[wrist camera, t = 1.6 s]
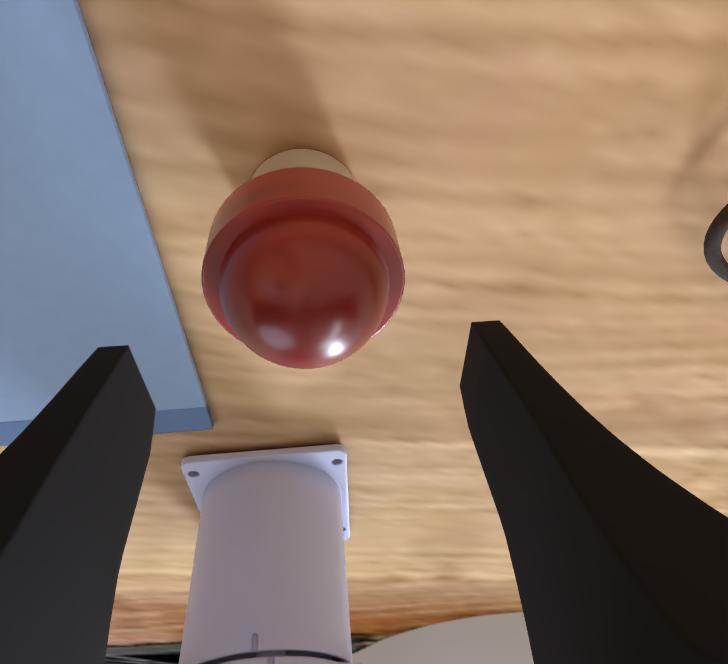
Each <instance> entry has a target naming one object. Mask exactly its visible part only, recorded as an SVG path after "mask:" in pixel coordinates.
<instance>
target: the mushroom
mask: <svg viewBox="0 0 728 664" xmlns="http://www.w3.org/2000/svg"><path fill="white" fill-rule="evenodd" d="M404 284H405V270H404V265H403V260H402V256H401V252H400V248H399V244H398V241H397V237H396V233H395V229H394V226H393V224H392V221H391V219H390V217H389V215H388V213H387V211H386V209H385V208H384V207H383V205H382V204H381V203H380V201H379V200H378V199H377V198H376V197H375V196H374V195H373V194H372V193H371V192H370V191H368V190H367V189H366V188H365V187H363V186H362V185H361V184H359V183H357V182H355V180H354V178H353V177H352V175H351V173H350V172H349V171H348V169H347V168H346V167H345V166H344V165H343V164H342V163H340V162H339V161H338V160H336V159H335V158H333V157H331V156H330V155H328V154H325V153H323V152H320V151H316V150H311V149H292V150H287V151H283V152H281V153H278V154H276V155H274V156H272V157H270V158H269V159H267V160H266V161H265V162H263V163H262V164H261V165H260V166H259V167H258V169H257V170H256V171H255V173H254V174H253V176H252V178H251V180H250V181H248V182H246V183H245V184H243V185H242V186H240V187H239V188H238V189H236V190H235V191H234V192H233V193H232V194H231V195H230V196H229V197H228V198H227V199H226V200H225V202H224V203H223V204H222V206H221V207H220V208H219V210H218V212H217V214H216V216H215V218H214V220H213V223H212V226H211V229H210V234H209V238H208V243H207V247H206V251H205V256H204V260H203V266H202V287H203V293H204V296H205V299H206V302H207V304H208V306H209V308H210V310H211V312H212V314H213V315H214V316H215V318H216V319H217V321H218V322H219V323H220V324H221V325H222V326H223V327H224V328H225V329H226V330H227V331H228V332H229V333H230V334H231V335H233V336H234V337H235V338H236V339H238V340H240V341H241V342H243V343H244V344H245V345H246V346H247V347H248V348H249V349H251V350H252V351H253V352H254V353H256V354H257V355H259V356H261V357H262V358H264V359H266V360H268V361H271V362H273V363H275V364H278V365H281V366H285V367H290V368H299V369H312V368H320V367H324V366H328V365H331V364H334V363H337V362H339V361H341V360H343V359H345V358H347V357H349V356H351V355H352V354H353V353H355V352H356V351H358V350H359V349H360V348H361V347H362V346H363V345H364V344H365V343H366V342H367V341H368V340H369V339H371V338H372V337H373V336H375V335H376V334H377V333H378V332H379V331H380V330H382V329H383V328H384V326H385V325H386V324H387V323H388V322H389V321H390V319H391V318H392V316H393V315H394V313H395V312H396V310H397V308H398V305H399V303H400V301H401V298H402V294H403V291H404Z"/></svg>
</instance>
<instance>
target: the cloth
mask: <svg viewBox="0 0 728 664" xmlns="http://www.w3.org/2000/svg"><path fill="white" fill-rule="evenodd" d="M123 345H129V348H130V350H131V352H132V355H133V357H134V359H135V362H136V364H137V366H138V368H139V371H140V373H141V375H142V378H143V380H144V382H145V385H146V387H147V389H148V392H149V394H150V396H151V399H152V401H153V403H154V405H155V408H156V411H155V420H154V428H153V434H159V433H171V432H184V431H197V430H210V429H213V426H214V423H213V420H212V417H211V414H210V411H209V408H208V405H207V401H206V398H205V395H204V392H203V389H202V386H201V383H200V380H199V377H198V373H197V370H196V367H195V364H194V361H193V358H192V355H191V352H190V349H189V346H188V342H187V339H186V336H185V333H184V330H183V327H182V324H181V321H180V318H179V314H178V311H177V308H176V305H175V302H174V299H173V296H172V293H171V290H170V286H169V283H168V280H167V277H166V274H165V271H164V268H163V265H162V262H161V258H160V255H159V252H158V249H157V246H156V243H155V240H154V237H153V234H152V231H151V227H150V224H149V221H148V218H147V215H146V212H145V209H144V206H143V203H142V199H141V196H140V193H139V190H138V187H137V184H136V181H135V178H134V175H133V171H132V168H131V165H130V162H129V159H128V156H127V153H126V150H125V147H124V143H123V140H122V137H121V134H120V131H119V128H118V125H117V122H116V119H115V115H114V112H113V109H112V106H111V103H110V100H109V97H108V94H107V91H106V88H105V84H104V81H103V78H102V75H101V72H100V69H99V66H98V63H97V60H96V56H95V53H94V50H93V47H92V44H91V41H90V38H89V35H88V32H87V28H86V25H85V22H84V19H83V16H82V13H81V10H80V7H79V4H78V0H0V446H6V445H10V444H11V443H12V442H13V441H14V440H15V439H16V438H17V437H18V436H19V435H20V434H21V432H22V431H23V430H24V429H25V428H26V427H27V426H28V425H29V424H30V423H31V422H32V420H33V419H34V418H35V417H36V416H37V415H38V414H39V413H40V412H41V411H42V410H43V408H44V407H45V406H46V405H47V404H48V403H49V402H50V401H51V400H52V398H53V397H54V396H55V395H56V394H57V393H58V392H59V391H60V389H61V388H62V387H63V386H64V385H65V384H66V383H67V381H68V380H69V379H70V378H71V377H72V376H73V375H74V373H75V372H76V371H77V370H78V369H79V368H80V367H81V366H82V364H83V363H84V362H85V361H86V360H87V359H88V358H89V357H90V355H91V354H92V353H93V352H94V351H95V350H96V349H97V348H98V347H107V346H123Z"/></svg>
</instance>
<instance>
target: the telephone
mask: <svg viewBox="0 0 728 664" xmlns="http://www.w3.org/2000/svg"><path fill="white" fill-rule="evenodd" d="M727 229H728V204H727V205H726V206H725V207H724V208H723V209H722V210H721V211H720V213H719V214H718V215H717V216H716V217H715V219H714V220H713V222H712V223H711V225H710V227H709V229H708V231H707V233H706V236H705V240H704V255H705V258H706V261H707V263H708V265H709V266H710V268H711V269H712V270H713V271H714V272H715V273H716V274H717V275H718V276H719V277H721V278H722V279H724V280H725V281H727V282H728V263H727V262H726V260H725V259H724V257H723V255H722V252H721V243H722V239H723V237H724V235H725V232H726V231H727Z"/></svg>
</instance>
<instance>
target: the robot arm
mask: <svg viewBox="0 0 728 664" xmlns="http://www.w3.org/2000/svg"><path fill="white" fill-rule="evenodd" d="M460 389H461V394H462V399H463V404H464V409H465V413H466V418H467V422H468V427H469V430H470V433H471V436H472V439H473V442H474V445H475V448H476V451H477V453H478V456H479V459H480V462H481V465H482V468H483V471H484V474H485V477H486V479H487V482H488V485H489V488H490V491H491V494H492V497H493V499H494V502H495V505H496V508H497V511H498V514H499V517H500V520H501V523H502V526H503V530H504V533H505V536H506V540H507V544H508V548H509V552H510V557H511V561H512V565H513V569H514V573H515V577H516V581H517V586H518V590H519V595H520V599H521V604H522V608H523V613H524V617H525V621H526V626H527V631H528V636H529V641H530V646H531V651H532V656H533V661H534V664H728V517H726V516H725V515H723V514H721V513H720V512H718V511H717V510H715V509H714V508H712V507H711V506H709V505H707V504H706V503H705V502H703V501H702V500H700V499H699V498H697V497H696V496H694V495H693V494H691V493H690V492H689V491H687V490H686V489H684V488H683V487H681V486H680V485H678V484H677V483H675V482H674V481H673V480H671V479H670V478H668V477H667V476H666V475H664V474H663V473H662V472H660V471H659V470H657V469H656V468H655V467H653V466H652V465H651V464H649V463H648V462H647V461H646V460H644V459H643V458H642V457H641V456H639V455H638V454H637V453H635V452H634V451H633V450H632V449H630V448H629V447H628V446H627V445H625V444H624V443H623V442H621V441H620V440H619V439H618V438H617V437H616V436H614V435H613V434H612V433H611V432H610V431H609V430H607V429H606V428H605V427H604V426H603V425H602V424H601V423H600V422H598V421H597V420H596V419H595V418H594V417H593V416H592V415H591V414H590V413H588V412H587V411H586V410H585V409H584V408H583V407H582V406H581V405H580V404H579V403H578V402H577V401H576V400H575V399H574V398H573V397H572V396H571V395H570V394H569V393H568V392H567V391H566V390H565V389H564V388H563V387H562V386H561V385H560V384H559V383H558V382H557V381H556V380H555V379H554V378H553V377H552V376H551V375H550V374H549V373H548V372H547V371H546V370H545V369H544V368H543V367H542V366H541V365H540V364H539V363H538V362H537V361H536V359H535V358H534V357H533V356H532V355H531V354H530V353H529V352H528V351H527V350H526V349H525V348H524V347H523V345H522V344H521V343H520V342H519V341H518V340H517V339H516V338H515V337H514V336H513V334H512V333H511V332H510V331H509V330H508V329H507V328H506V327H505V326H504V325H503V324H502V323H501V322H500V321H484V322H472V323H471V328H470V334H469V339H468V345H467V350H466V355H465V361H464V366H463V372H462V377H461V382H460ZM155 411H156V408H155V405H154V403H153V401H152V399H151V396H150V394H149V392H148V389H147V387H146V385H145V382H144V380H143V378H142V375H141V373H140V371H139V368H138V366H137V364H136V362H135V359H134V357H133V355H132V352H131V350H130V348H129V345H123V346H107V347H98V348H97V349H96V350H95V351H94V352H93V353H92V354H91V355H90V357H89V358H88V359H87V360H86V361H85V362H84V363H83V364H82V366H81V367H80V368H79V369H78V370H77V371H76V372H75V373H74V375H73V376H72V377H71V378H70V379H69V380H68V381H67V383H66V384H65V385H64V386H63V387H62V388H61V389H60V391H59V392H58V393H57V394H56V395H55V396H54V397H53V398H52V400H51V401H50V402H49V403H48V404H47V405H46V406H45V407H44V408H43V410H42V411H41V412H40V413H39V414H38V415H37V416H36V417H35V418H34V419H33V420H32V422H31V423H30V424H29V425H28V426H27V427H26V428H25V429H24V430H23V431H22V432H21V434H20V435H19V436H18V437H17V438H16V439H15V440H14V441H13V442H12V443H11V444H10V445H9V446H8V447H7V448H6V449H5V450H4V451H3V452H2V453H1V454H0V664H104V663H105V656H106V649H107V642H108V635H109V628H110V621H111V615H112V609H113V603H114V597H115V590H116V584H117V578H118V573H119V569H120V565H121V560H122V556H123V552H124V548H125V544H126V541H127V537H128V533H129V530H130V526H131V522H132V519H133V515H134V511H135V508H136V504H137V500H138V497H139V493H140V489H141V486H142V482H143V478H144V474H145V471H146V467H147V463H148V459H149V455H150V450H151V443H152V436H153V428H154V420H155ZM181 470H182V472H183V474H184V477H185V479H186V481H187V484H188V486H189V488H190V491H191V493H192V495H193V498H194V500H195V502H196V505H197V507H198V509H199V512H200V514H201V515H200V522H199V528H198V535H197V542H196V549H195V556H194V563H193V570H192V577H191V584H190V591H189V598H188V604H187V611H186V618H185V625H184V632H183V639H182V646H181V653H180V660H179V664H362V663H353V662H352V648H351V634H350V619H349V605H348V591H347V576H346V562H345V548H344V540H347V539H348V538H349V537H350V524H349V501H348V479H347V456H346V448H345V447H344V446H343V445H340V444H331V445H318V446H306V447H294V448H282V449H269V450H257V451H245V452H233V453H220V454H208V455H196V456H188V457H185V458H183V460H182V462H181Z"/></svg>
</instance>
